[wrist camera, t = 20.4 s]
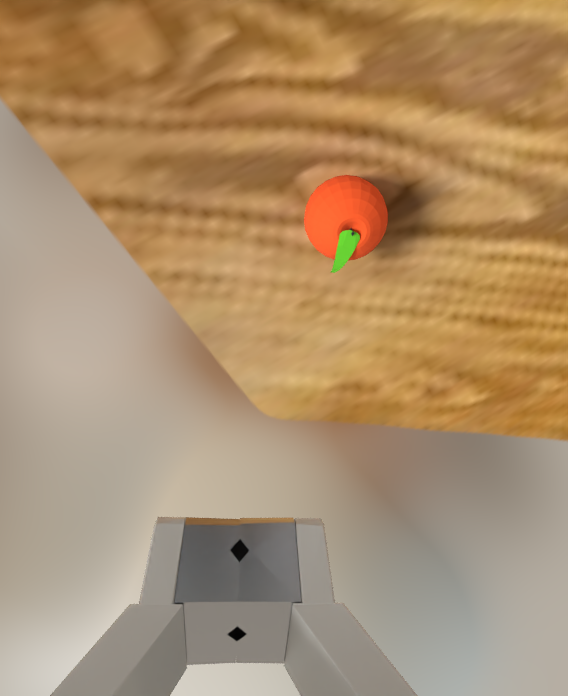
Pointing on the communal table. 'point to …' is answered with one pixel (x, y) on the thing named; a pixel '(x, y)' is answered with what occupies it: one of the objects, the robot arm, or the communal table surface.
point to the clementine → (345, 218)
